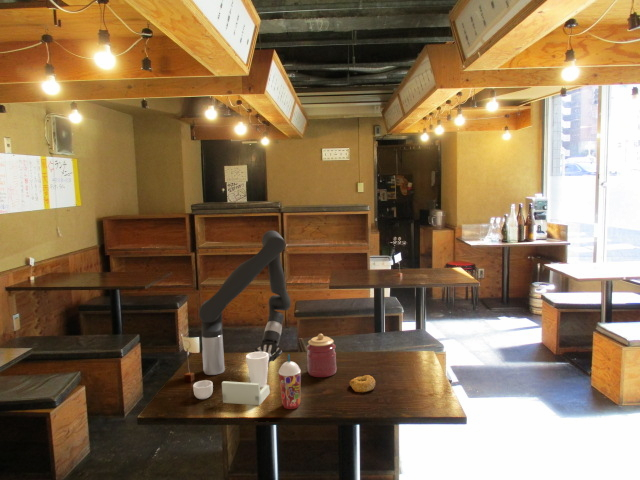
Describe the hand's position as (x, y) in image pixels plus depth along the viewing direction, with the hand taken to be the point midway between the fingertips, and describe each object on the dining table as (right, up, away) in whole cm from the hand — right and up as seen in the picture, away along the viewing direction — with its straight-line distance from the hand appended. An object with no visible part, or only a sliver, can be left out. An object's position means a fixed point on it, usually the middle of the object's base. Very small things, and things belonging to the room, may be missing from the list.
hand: (264, 369), depth 212 cm
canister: (+25, -3, +5) cm, 26 cm away
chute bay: (-5, -6, -19) cm, 20 cm away
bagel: (+42, -4, -14) cm, 44 cm away
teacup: (-23, -7, -15) cm, 28 cm away
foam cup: (-2, -5, -6) cm, 8 cm away
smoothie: (+13, -7, -28) cm, 32 cm away
